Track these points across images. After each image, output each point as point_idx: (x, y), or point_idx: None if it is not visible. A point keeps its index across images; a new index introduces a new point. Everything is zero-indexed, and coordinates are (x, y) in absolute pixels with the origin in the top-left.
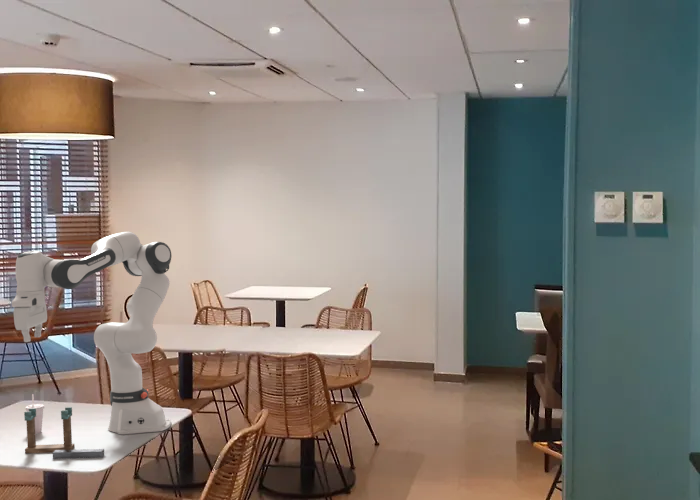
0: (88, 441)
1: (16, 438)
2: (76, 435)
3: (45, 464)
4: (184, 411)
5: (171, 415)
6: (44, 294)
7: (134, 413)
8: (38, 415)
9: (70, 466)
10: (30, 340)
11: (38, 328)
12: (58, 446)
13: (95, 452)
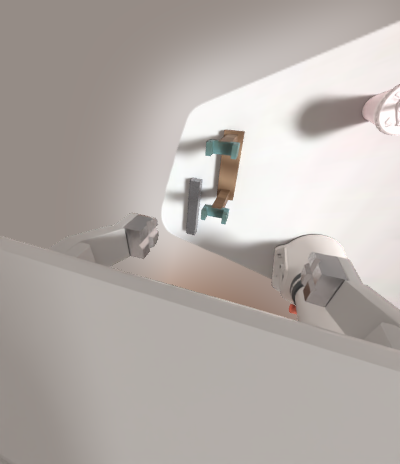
0: (260, 212)
1: (341, 73)
2: (302, 193)
3: (173, 172)
4: None
5: None
6: None
7: (284, 279)
8: (374, 121)
9: (165, 201)
10: (152, 242)
11: (360, 325)
12: (224, 181)
13: (187, 226)
